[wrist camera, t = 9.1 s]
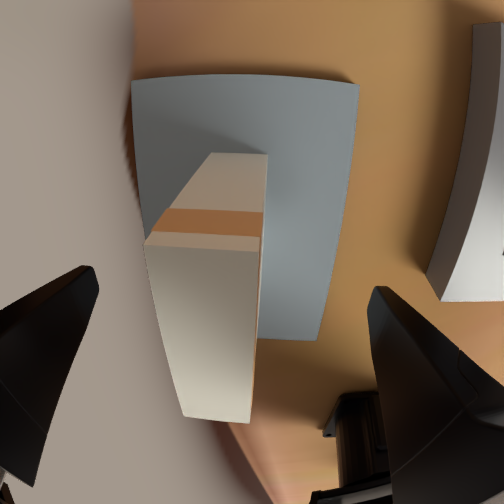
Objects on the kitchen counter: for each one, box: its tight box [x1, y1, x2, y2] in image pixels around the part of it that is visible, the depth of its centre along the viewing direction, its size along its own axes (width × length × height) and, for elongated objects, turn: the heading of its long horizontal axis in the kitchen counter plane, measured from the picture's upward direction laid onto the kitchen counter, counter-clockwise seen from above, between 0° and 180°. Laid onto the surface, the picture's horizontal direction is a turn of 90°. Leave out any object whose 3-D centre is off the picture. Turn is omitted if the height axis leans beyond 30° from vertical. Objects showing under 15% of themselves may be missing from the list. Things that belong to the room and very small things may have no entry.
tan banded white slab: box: [143, 152, 268, 424], centre depth 10 cm, size 6×2×6 cm, turn 178°
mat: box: [131, 74, 360, 341], centre depth 13 cm, size 12×8×1 cm, turn 178°
